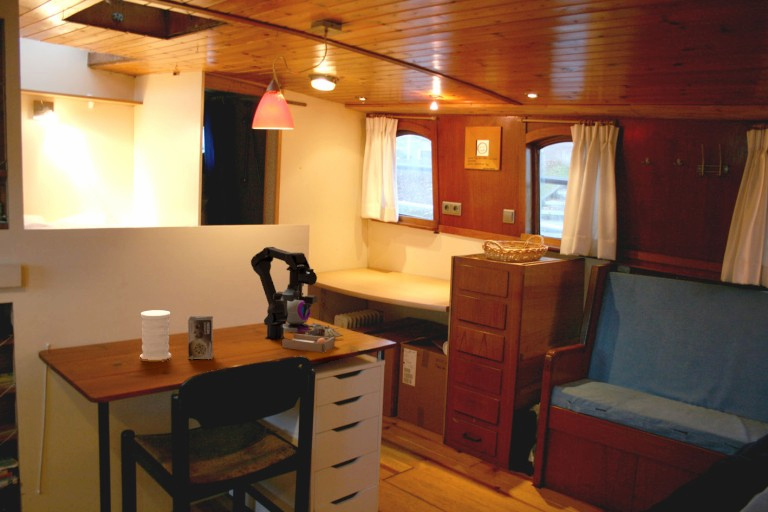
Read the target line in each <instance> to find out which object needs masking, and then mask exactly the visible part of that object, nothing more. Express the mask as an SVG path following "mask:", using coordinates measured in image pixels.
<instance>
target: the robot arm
mask: <svg viewBox="0 0 768 512" xmlns="http://www.w3.org/2000/svg"><path fill="white" fill-rule="evenodd" d="M274 259H277V260H280V261H283V262H285V264H286V265H288V267H287V268H286V269H285V270H286V271H288V272H289V275H288V277H289V280H288V282H289V283H288V284H287V288H286V289H284V291H277V290H276V287H275V284H274V281H273V278H272V275H271V269H272V263H273V261H274ZM250 265H251V268H252V270H253V272H255V274H257V275H258V277H259V280H260V282H261V285H262V289H263V292H264V295H265V298H266V301H267V303H268V304H267V305H268V307H267V316H266V317H264V319H263V324H264V326H266V330H267V331H266V336H265V338H264V339H267V340H277V341H278V340H280V339H284V338H285V335H284V333H285V331H284V328H283V325H284V324H287V317H288V313H287V312H288V310H287V302H288V301H290V302H292V301H294V300H302V301H304V302H305V303H304V304H303V305H304V313H303V318H305V317H306V315H307V313H308V311H309V309H310V310H311V307H312V305H314V304H316V303H318V300H319V299H318V297H317V295H312V294H307V295H305V296H304V292H303V287H305V285H308V286H313V285H316V283H317V279H318V276H317V273H315V272H314V268H311V266H310V264H309V262H308V260H307V257H306V255H305V253H304V252H290V251H287V250H283V249H279V248H276V247H274V246H268V247H267V246H266V247H264V248H263V249H262V250H261V251H259V252H258V253H256V254H254V255H253V256H252V258H251V259H250Z"/></svg>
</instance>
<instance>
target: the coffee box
mask: <svg viewBox="0 0 768 512" xmlns="http://www.w3.org/2000/svg"><path fill="white" fill-rule="evenodd" d="M213 320H214V316H205V315H204V316H189V318H188V320H187V324H188V325H187V330H188V332H187V337H188V340H187V341H188V343H187V345H188V347H187V348H188V349H187V351H188V352H187V354H188V355H187V356H188V358H187V360H188V359H208V360H209V359H211V360H212V359H213V356H214V321H213Z"/></svg>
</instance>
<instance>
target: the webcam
mask: <svg viewBox="0 0 768 512" xmlns="http://www.w3.org/2000/svg"><path fill="white" fill-rule="evenodd" d="M304 303H305V302H304V301H302V300H294V301H292V302H290V301H287V310H288V312H287V313H288V317H287V321H286V324H283V328H284V332H289V333H302V332H304V333H305V331H309V330H311V328H310V327H309V326H308V325H309V324H308V323H306V322H308V320H309V319H310V316H311V308H310V309H309V311H308V313H307V315H306V317H305V318H303V313H304V305H303V304H304ZM303 330H305V331H303Z"/></svg>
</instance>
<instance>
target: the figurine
mask: <svg viewBox="0 0 768 512" xmlns="http://www.w3.org/2000/svg"><path fill="white" fill-rule="evenodd" d="M308 326H309V327H310V329H308V330H307V331H305V330H303V331H304V335H311V336H319V337H328V338H332V337H335V339H336V338H339V337H344V335H342V334H341V333H340V332H339V331H340V329H341V327H334V328H333V327H331V326H329V325H327V326H325V325H323V324H320V323H316V322H314V321H313V322H312V323H309V324H308ZM311 328H312V329H311ZM335 330H338V331H335Z"/></svg>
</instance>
